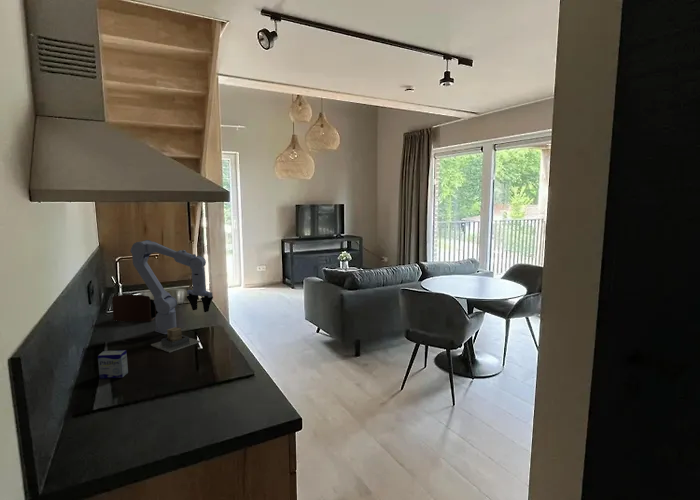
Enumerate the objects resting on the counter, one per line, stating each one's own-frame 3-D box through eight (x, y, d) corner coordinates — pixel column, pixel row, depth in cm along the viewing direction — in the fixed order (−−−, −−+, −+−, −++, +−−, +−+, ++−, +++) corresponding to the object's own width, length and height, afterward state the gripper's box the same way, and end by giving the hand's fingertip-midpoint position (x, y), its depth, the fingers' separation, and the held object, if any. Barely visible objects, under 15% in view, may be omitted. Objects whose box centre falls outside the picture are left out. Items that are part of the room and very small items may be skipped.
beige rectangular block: (168, 343, 169) (167, 329, 168) (176, 340, 172) (175, 327, 171) (173, 345, 167) (172, 331, 166) (182, 342, 170) (181, 328, 169)
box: (98, 379, 136) (96, 355, 135) (105, 373, 141) (103, 350, 140) (122, 378, 137) (120, 354, 136) (128, 372, 142) (126, 349, 141)
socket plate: (150, 345, 168) (150, 339, 168) (181, 336, 179) (180, 330, 179) (169, 352, 160) (169, 346, 160) (200, 342, 171) (199, 336, 171)
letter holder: (151, 321, 203) (149, 294, 201) (113, 321, 203) (110, 295, 202) (161, 316, 213) (159, 290, 211) (124, 316, 213) (122, 290, 211)
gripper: (180, 282, 185) (182, 311, 186) (203, 285, 178) (205, 314, 180) (193, 279, 191) (194, 307, 193) (215, 282, 184) (216, 310, 186)
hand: (200, 310), depth 187 cm, fingers open, 7 cm apart
